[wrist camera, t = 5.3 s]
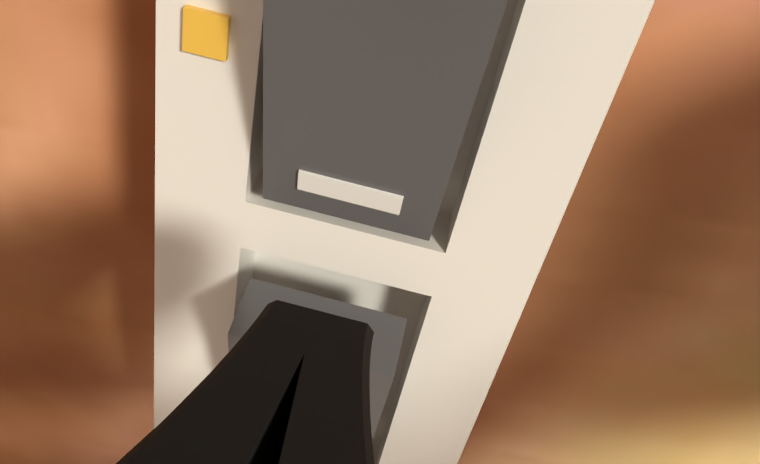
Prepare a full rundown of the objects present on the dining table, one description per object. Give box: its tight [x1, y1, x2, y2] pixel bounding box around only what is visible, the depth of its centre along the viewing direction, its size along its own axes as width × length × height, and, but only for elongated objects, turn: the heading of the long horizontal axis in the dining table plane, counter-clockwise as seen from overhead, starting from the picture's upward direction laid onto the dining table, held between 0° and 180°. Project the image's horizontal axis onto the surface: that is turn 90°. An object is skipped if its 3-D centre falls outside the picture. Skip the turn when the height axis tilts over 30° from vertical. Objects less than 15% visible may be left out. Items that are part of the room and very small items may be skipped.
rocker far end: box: [228, 278, 407, 440], centre depth 17 cm, size 3×6×2 cm, turn 169°
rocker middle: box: [263, 0, 508, 241], centre depth 12 cm, size 3×6×2 cm, turn 169°
